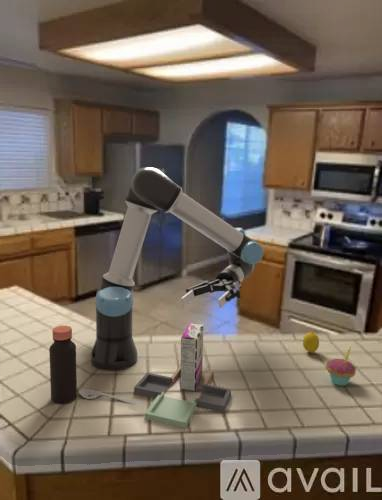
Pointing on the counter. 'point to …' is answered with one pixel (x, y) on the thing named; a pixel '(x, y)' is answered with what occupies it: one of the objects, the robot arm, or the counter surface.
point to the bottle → (63, 366)
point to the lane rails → (180, 372)
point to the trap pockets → (209, 399)
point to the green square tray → (171, 411)
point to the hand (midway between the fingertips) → (200, 302)
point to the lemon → (311, 342)
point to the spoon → (95, 394)
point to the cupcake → (341, 370)
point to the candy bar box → (191, 356)
